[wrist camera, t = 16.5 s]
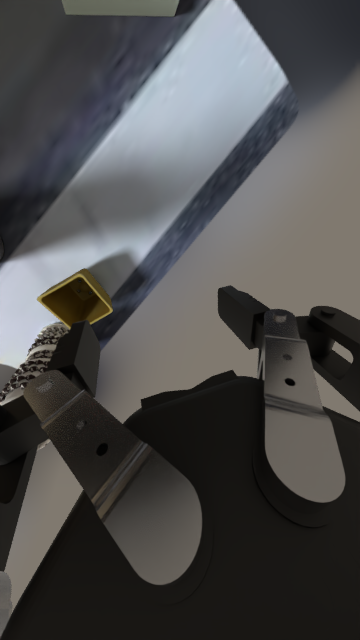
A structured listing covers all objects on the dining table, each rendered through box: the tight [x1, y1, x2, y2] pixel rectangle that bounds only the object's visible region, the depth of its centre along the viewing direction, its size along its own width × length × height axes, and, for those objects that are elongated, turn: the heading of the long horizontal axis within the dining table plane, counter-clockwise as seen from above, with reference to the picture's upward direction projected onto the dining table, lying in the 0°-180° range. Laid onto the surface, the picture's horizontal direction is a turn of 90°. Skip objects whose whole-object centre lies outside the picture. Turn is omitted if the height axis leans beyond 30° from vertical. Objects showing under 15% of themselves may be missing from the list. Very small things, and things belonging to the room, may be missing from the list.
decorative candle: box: [0, 323, 70, 450], centre depth 34 cm, size 9×9×25 cm
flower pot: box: [37, 269, 113, 329], centre depth 36 cm, size 9×9×9 cm
